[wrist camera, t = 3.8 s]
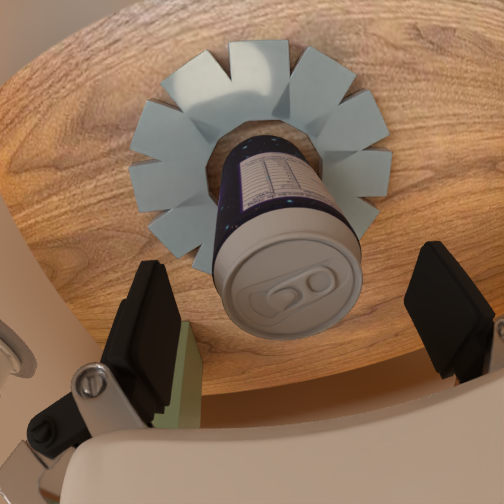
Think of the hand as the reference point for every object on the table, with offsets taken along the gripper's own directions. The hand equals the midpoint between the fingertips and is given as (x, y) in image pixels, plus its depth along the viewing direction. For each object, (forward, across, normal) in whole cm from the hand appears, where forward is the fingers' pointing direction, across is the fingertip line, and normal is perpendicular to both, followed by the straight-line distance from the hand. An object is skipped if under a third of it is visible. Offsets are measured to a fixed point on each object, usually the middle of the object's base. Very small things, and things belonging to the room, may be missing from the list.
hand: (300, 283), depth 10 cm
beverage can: (+12, 0, 0) cm, 12 cm away
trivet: (+12, 0, 0) cm, 12 cm away
